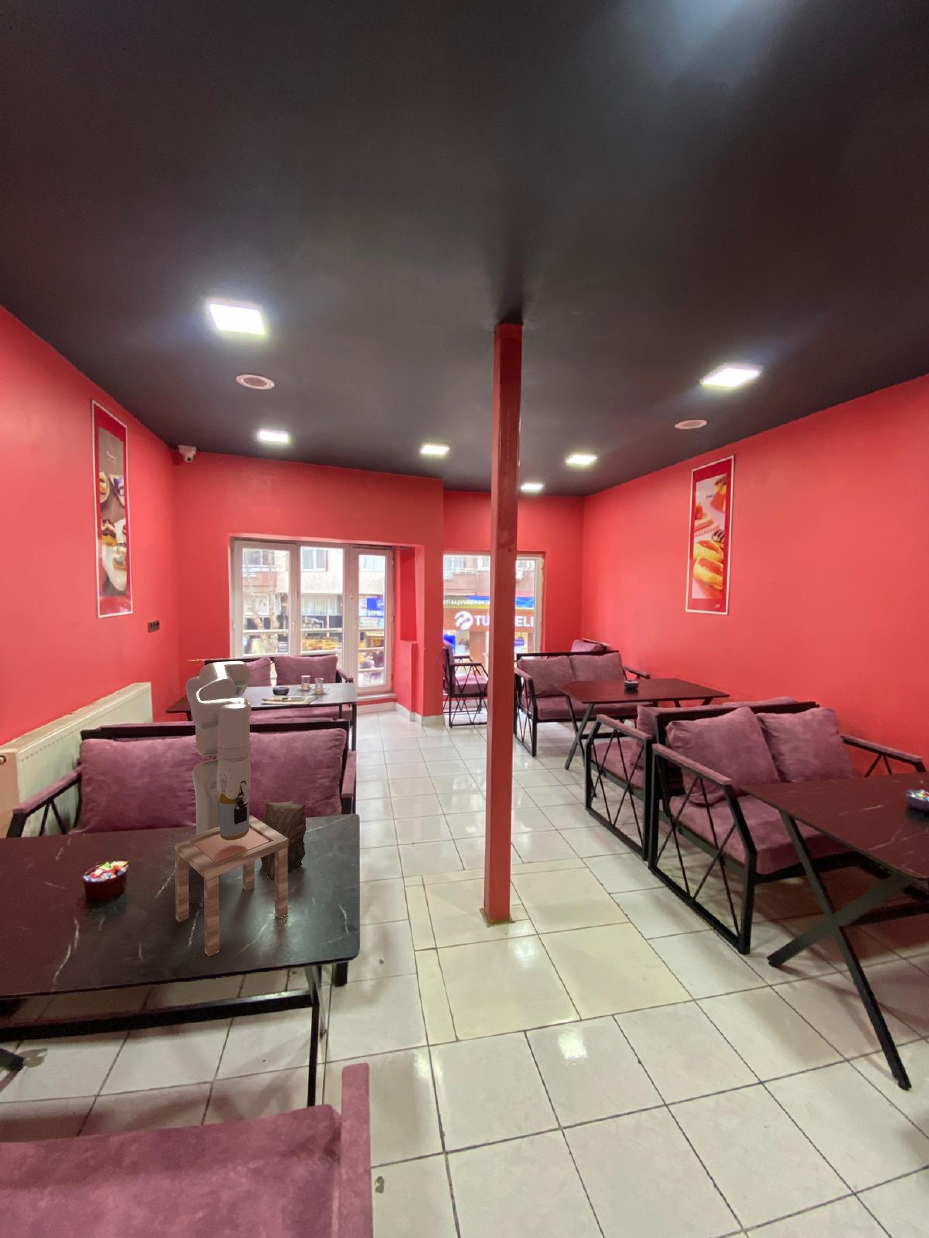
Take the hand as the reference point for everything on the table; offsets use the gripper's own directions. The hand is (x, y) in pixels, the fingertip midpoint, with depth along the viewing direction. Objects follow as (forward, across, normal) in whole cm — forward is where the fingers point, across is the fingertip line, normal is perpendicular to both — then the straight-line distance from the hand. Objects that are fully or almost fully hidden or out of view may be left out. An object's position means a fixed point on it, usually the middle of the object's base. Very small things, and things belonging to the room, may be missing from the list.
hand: (234, 817), depth 127 cm
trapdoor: (+8, -2, 0) cm, 9 cm away
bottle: (+5, 0, 0) cm, 5 cm away
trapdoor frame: (+28, -2, 0) cm, 28 cm away
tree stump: (+28, -14, +20) cm, 37 cm away
